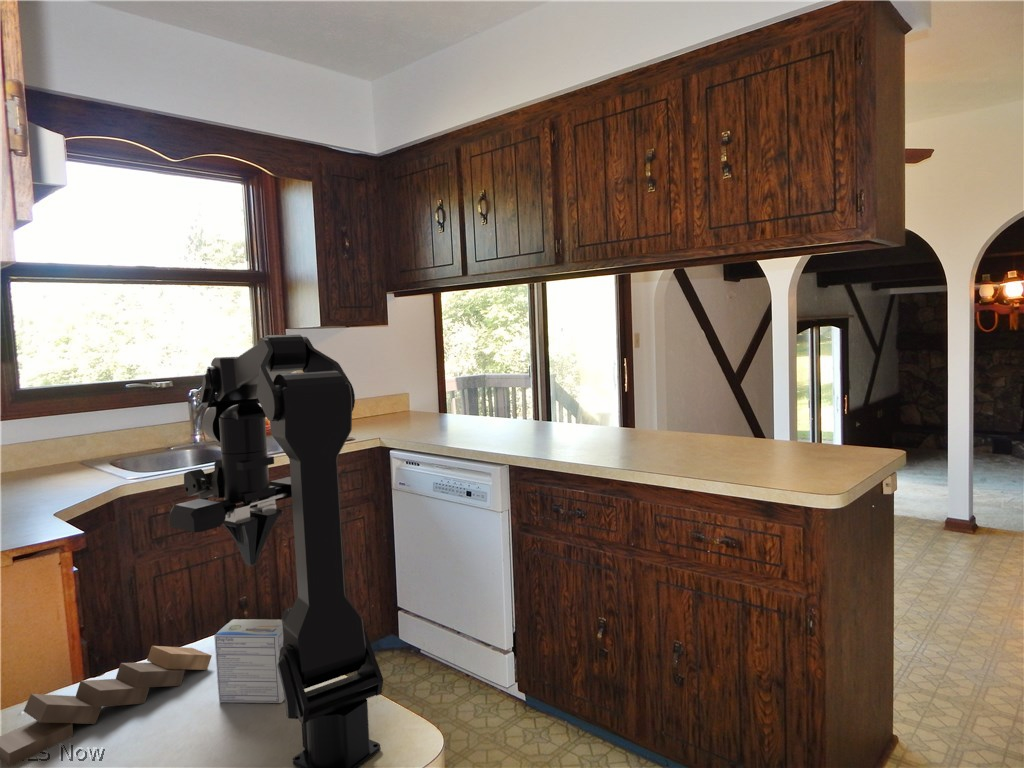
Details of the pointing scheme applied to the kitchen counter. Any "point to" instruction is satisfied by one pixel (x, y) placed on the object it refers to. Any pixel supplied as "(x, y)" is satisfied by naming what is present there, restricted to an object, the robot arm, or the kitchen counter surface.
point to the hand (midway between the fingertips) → (251, 564)
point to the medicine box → (249, 661)
